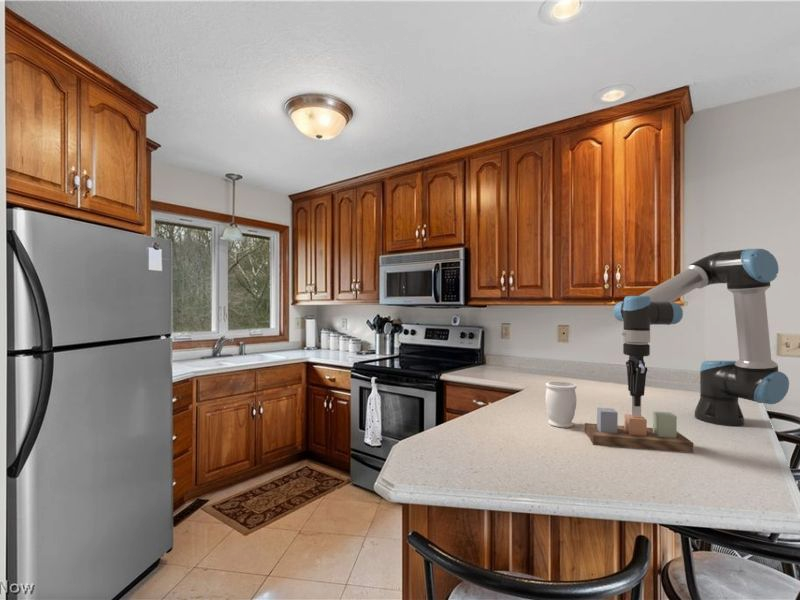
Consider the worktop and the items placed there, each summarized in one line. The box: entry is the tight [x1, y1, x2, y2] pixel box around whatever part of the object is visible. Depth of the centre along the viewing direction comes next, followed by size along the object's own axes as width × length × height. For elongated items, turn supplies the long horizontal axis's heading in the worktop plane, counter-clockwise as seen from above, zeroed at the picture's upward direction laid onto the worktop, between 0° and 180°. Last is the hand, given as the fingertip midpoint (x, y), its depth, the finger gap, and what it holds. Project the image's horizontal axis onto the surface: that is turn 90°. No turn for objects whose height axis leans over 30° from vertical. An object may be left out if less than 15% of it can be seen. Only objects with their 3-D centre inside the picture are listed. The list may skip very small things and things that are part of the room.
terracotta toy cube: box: [623, 413, 648, 436], centre depth 134 cm, size 5×5×8 cm
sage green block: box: [652, 410, 678, 438], centre depth 132 cm, size 5×5×8 cm
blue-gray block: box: [596, 407, 619, 434], centre depth 136 cm, size 5×5×8 cm
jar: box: [544, 381, 577, 429], centre depth 151 cm, size 11×10×15 cm
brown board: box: [584, 422, 694, 454], centre depth 134 cm, size 28×13×3 cm, turn 77°
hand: (635, 415), depth 134 cm, fingers closed
